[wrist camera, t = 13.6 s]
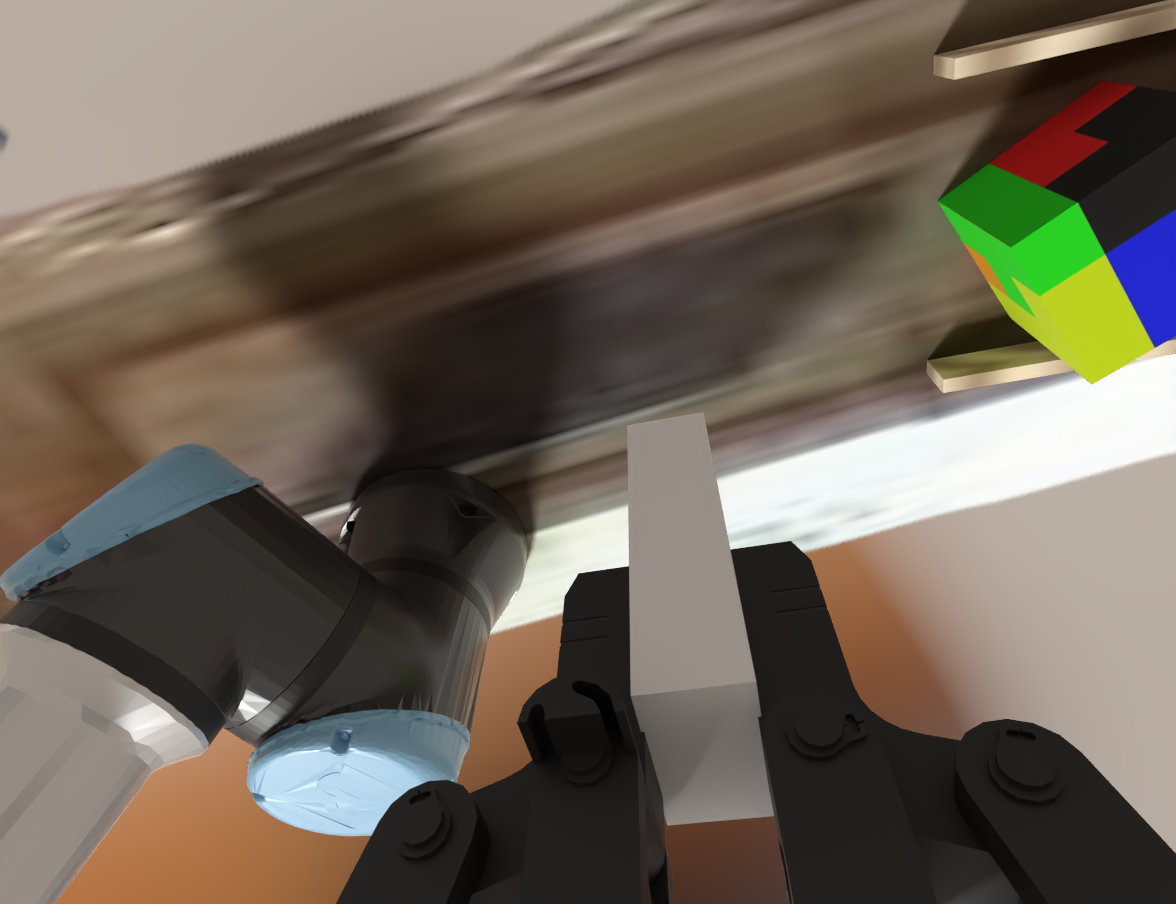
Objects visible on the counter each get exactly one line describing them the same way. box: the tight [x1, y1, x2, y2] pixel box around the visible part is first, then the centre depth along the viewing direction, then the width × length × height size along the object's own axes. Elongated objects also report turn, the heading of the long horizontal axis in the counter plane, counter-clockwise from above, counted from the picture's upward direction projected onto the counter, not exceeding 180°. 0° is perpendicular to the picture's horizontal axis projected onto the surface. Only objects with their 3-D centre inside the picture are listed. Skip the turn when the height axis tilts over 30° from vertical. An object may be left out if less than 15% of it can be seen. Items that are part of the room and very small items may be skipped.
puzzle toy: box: [938, 81, 1176, 384], centre depth 40 cm, size 10×10×10 cm
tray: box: [927, 0, 1176, 393], centre depth 43 cm, size 18×20×3 cm
